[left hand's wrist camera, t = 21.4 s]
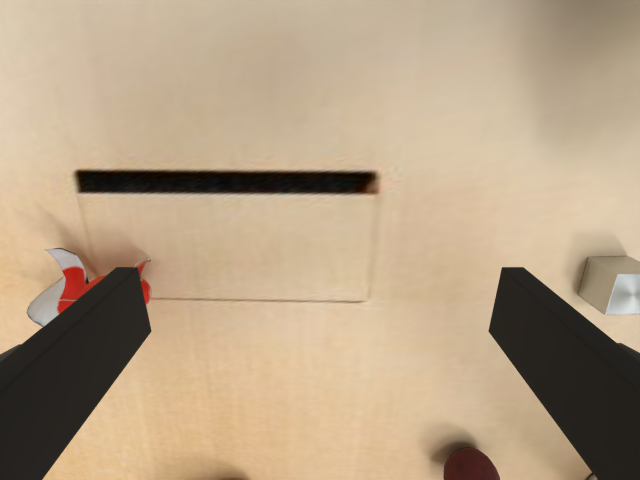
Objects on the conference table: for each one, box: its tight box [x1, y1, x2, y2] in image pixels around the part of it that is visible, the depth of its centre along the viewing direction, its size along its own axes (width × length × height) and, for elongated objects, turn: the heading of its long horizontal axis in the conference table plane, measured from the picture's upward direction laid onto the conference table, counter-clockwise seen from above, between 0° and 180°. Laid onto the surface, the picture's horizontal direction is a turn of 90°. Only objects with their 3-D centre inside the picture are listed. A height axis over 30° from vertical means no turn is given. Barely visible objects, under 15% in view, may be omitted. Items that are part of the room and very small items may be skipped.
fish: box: [27, 248, 152, 327], centre depth 38 cm, size 11×16×10 cm
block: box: [578, 256, 640, 315], centre depth 39 cm, size 5×5×4 cm
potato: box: [444, 448, 500, 480], centre depth 49 cm, size 7×8×7 cm
